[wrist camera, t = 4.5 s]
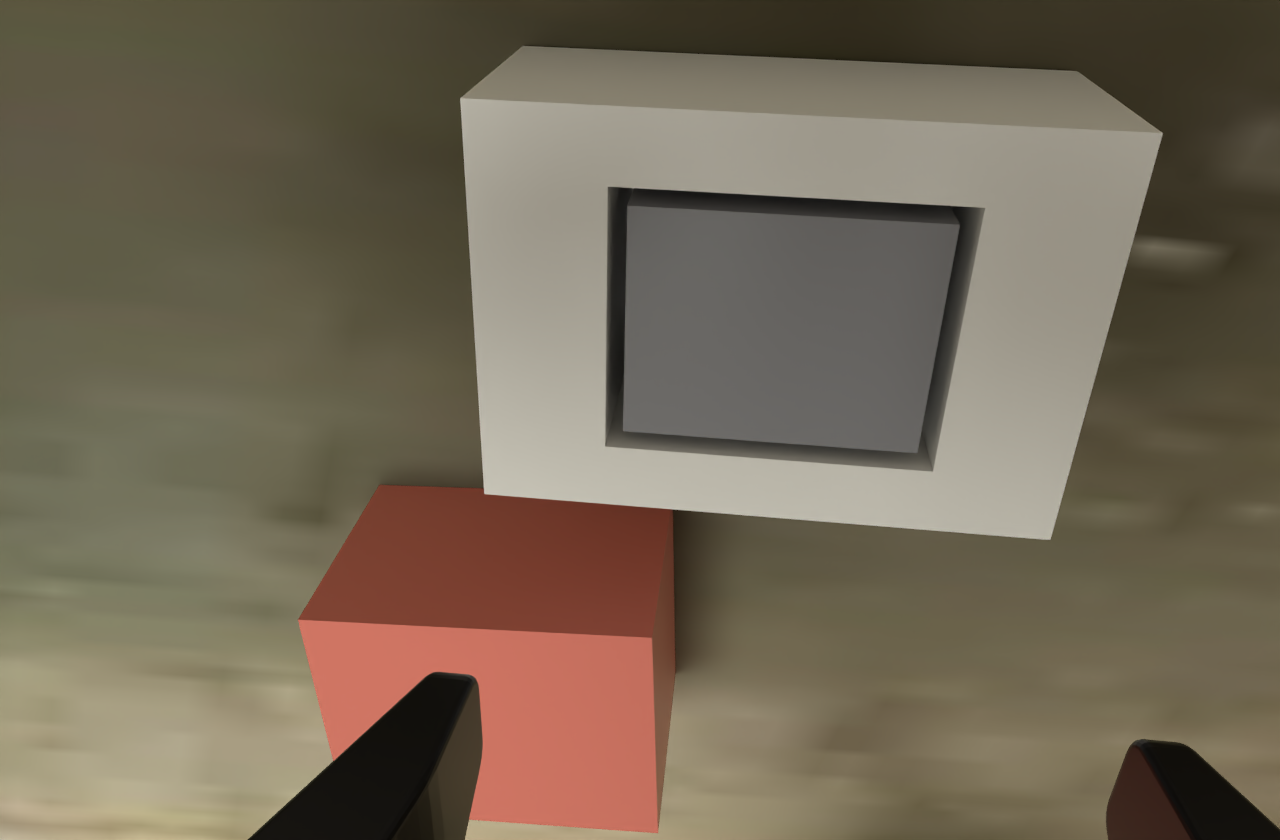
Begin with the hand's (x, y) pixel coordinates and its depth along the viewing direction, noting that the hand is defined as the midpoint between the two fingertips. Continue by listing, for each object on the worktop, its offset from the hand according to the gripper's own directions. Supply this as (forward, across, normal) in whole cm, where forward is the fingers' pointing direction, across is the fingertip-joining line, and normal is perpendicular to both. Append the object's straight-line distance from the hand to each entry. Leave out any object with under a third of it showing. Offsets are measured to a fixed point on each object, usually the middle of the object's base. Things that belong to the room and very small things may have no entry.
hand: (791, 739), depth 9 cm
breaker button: (+12, 0, 0) cm, 12 cm away
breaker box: (+13, 0, 0) cm, 13 cm away
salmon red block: (+13, +5, +9) cm, 17 cm away
